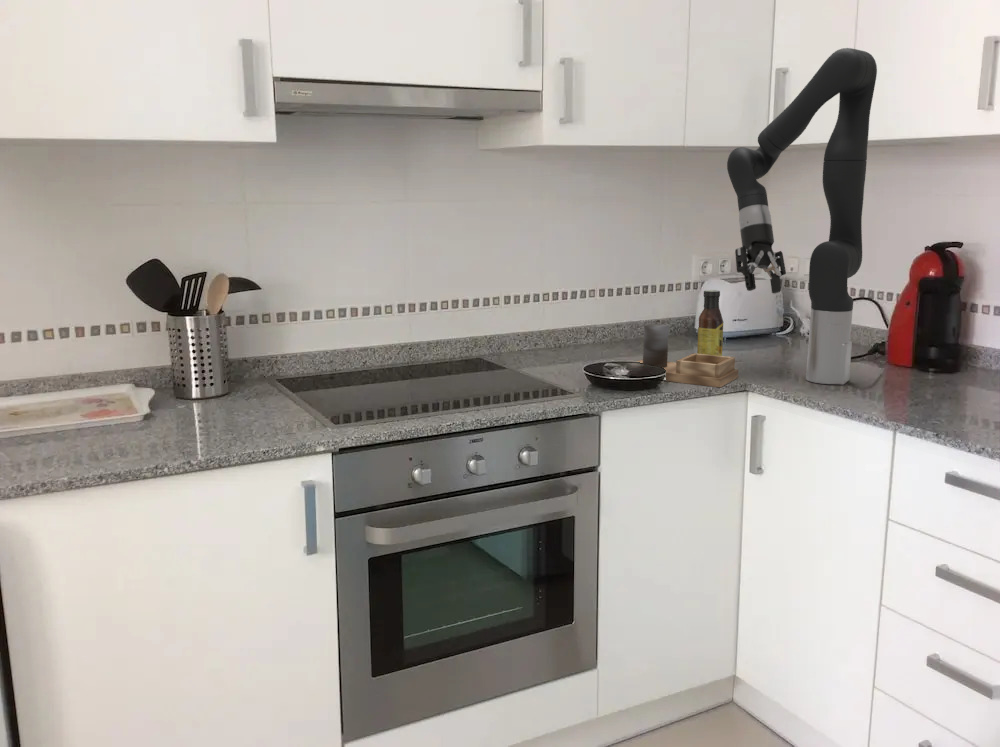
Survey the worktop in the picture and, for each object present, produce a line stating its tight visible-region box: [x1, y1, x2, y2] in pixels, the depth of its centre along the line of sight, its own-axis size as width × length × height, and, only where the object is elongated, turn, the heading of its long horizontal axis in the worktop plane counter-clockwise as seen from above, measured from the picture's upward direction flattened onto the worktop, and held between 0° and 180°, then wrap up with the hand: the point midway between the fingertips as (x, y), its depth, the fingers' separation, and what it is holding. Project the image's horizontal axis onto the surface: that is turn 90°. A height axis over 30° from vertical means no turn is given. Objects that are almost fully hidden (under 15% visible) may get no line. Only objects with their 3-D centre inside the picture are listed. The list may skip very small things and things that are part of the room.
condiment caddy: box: [636, 323, 739, 388], centre depth 216 cm, size 25×13×12 cm, turn 58°
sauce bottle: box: [696, 289, 724, 356], centre depth 226 cm, size 6×6×20 cm
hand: (764, 291), depth 214 cm, fingers open, 8 cm apart
